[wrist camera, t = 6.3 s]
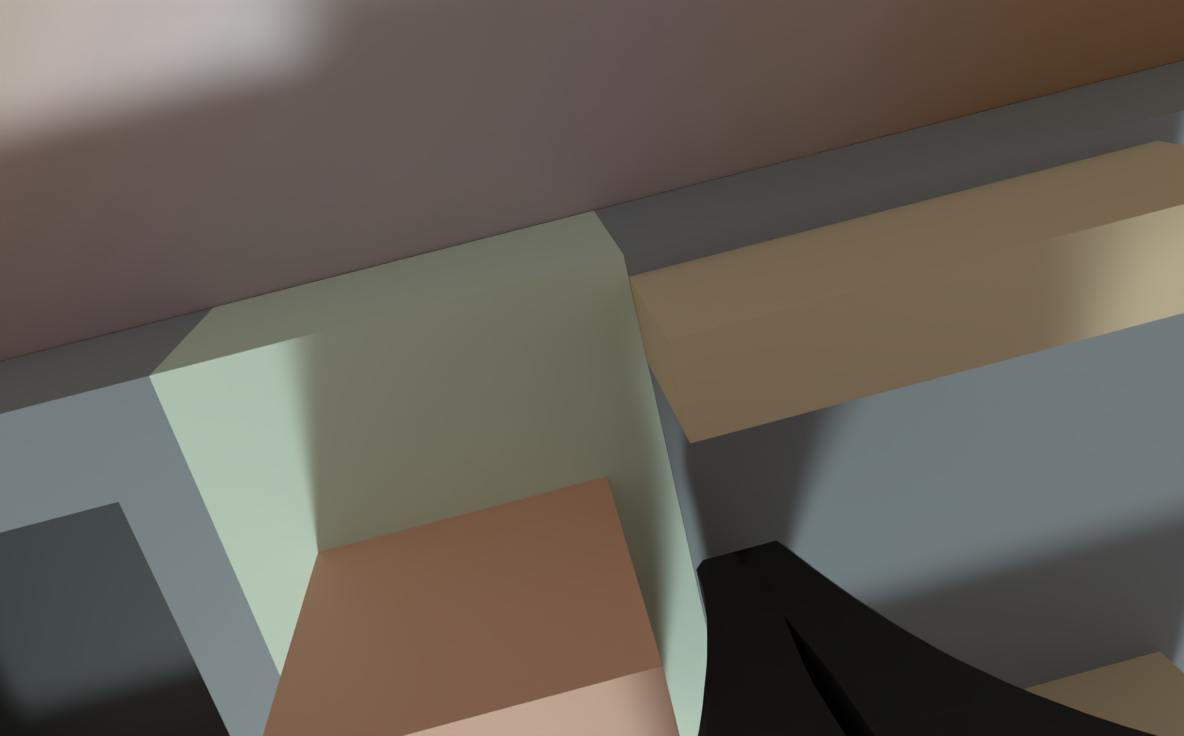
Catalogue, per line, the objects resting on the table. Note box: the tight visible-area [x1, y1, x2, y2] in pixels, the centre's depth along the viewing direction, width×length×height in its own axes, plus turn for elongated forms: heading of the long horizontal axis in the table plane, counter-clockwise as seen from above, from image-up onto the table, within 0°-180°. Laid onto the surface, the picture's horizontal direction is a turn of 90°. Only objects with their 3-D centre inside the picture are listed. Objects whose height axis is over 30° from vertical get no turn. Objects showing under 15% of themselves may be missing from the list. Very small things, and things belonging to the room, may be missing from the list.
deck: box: [0, 60, 1184, 736], centre depth 14 cm, size 26×10×6 cm, turn 103°
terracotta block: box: [263, 477, 680, 736], centre depth 11 cm, size 4×4×4 cm
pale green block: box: [149, 211, 707, 736], centre depth 15 cm, size 6×10×3 cm, turn 13°
